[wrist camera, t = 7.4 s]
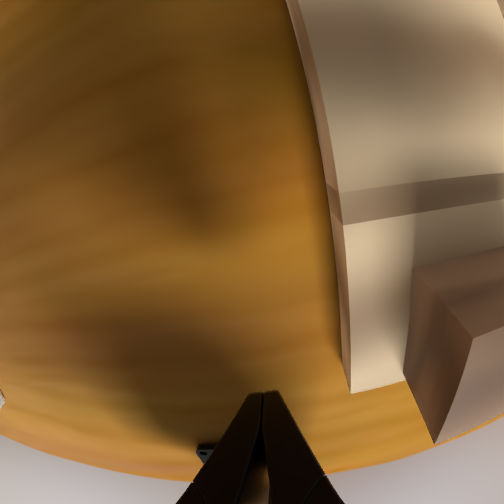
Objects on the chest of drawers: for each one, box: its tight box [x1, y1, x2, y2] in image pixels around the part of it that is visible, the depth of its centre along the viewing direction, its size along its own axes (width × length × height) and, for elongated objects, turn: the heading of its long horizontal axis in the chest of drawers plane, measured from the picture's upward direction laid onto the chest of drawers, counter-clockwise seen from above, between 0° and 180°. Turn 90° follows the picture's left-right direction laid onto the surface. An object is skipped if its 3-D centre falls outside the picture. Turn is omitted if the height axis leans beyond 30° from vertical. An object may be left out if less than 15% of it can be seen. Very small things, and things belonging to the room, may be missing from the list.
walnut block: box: [403, 246, 504, 445], centre depth 8 cm, size 5×5×4 cm
